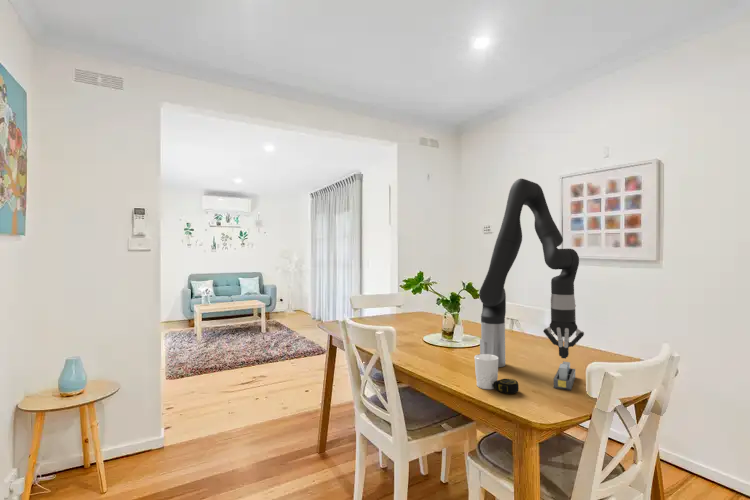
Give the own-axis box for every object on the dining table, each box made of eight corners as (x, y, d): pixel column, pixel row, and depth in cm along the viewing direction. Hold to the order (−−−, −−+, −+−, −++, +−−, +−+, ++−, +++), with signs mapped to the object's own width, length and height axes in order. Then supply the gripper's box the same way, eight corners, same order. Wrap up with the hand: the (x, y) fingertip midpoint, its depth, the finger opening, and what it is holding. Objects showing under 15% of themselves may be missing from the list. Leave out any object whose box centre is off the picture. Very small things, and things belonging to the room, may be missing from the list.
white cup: (480, 380, 137) (480, 352, 137) (502, 385, 132) (501, 356, 132) (471, 386, 131) (470, 357, 131) (493, 392, 126) (492, 361, 126)
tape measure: (506, 387, 131) (506, 376, 131) (523, 393, 125) (523, 381, 125) (492, 391, 127) (492, 380, 127) (509, 397, 121) (509, 386, 121)
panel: (566, 386, 128) (566, 368, 128) (559, 385, 129) (558, 367, 129) (567, 381, 132) (567, 364, 132) (560, 380, 133) (560, 363, 133)
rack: (570, 391, 125) (570, 374, 125) (553, 388, 128) (553, 371, 128) (575, 377, 139) (575, 361, 139) (559, 374, 141) (559, 359, 141)
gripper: (540, 307, 131) (541, 358, 131) (584, 310, 124) (585, 363, 124) (543, 304, 137) (544, 352, 137) (585, 306, 130) (586, 357, 130)
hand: (564, 357), depth 130 cm, fingers closed
